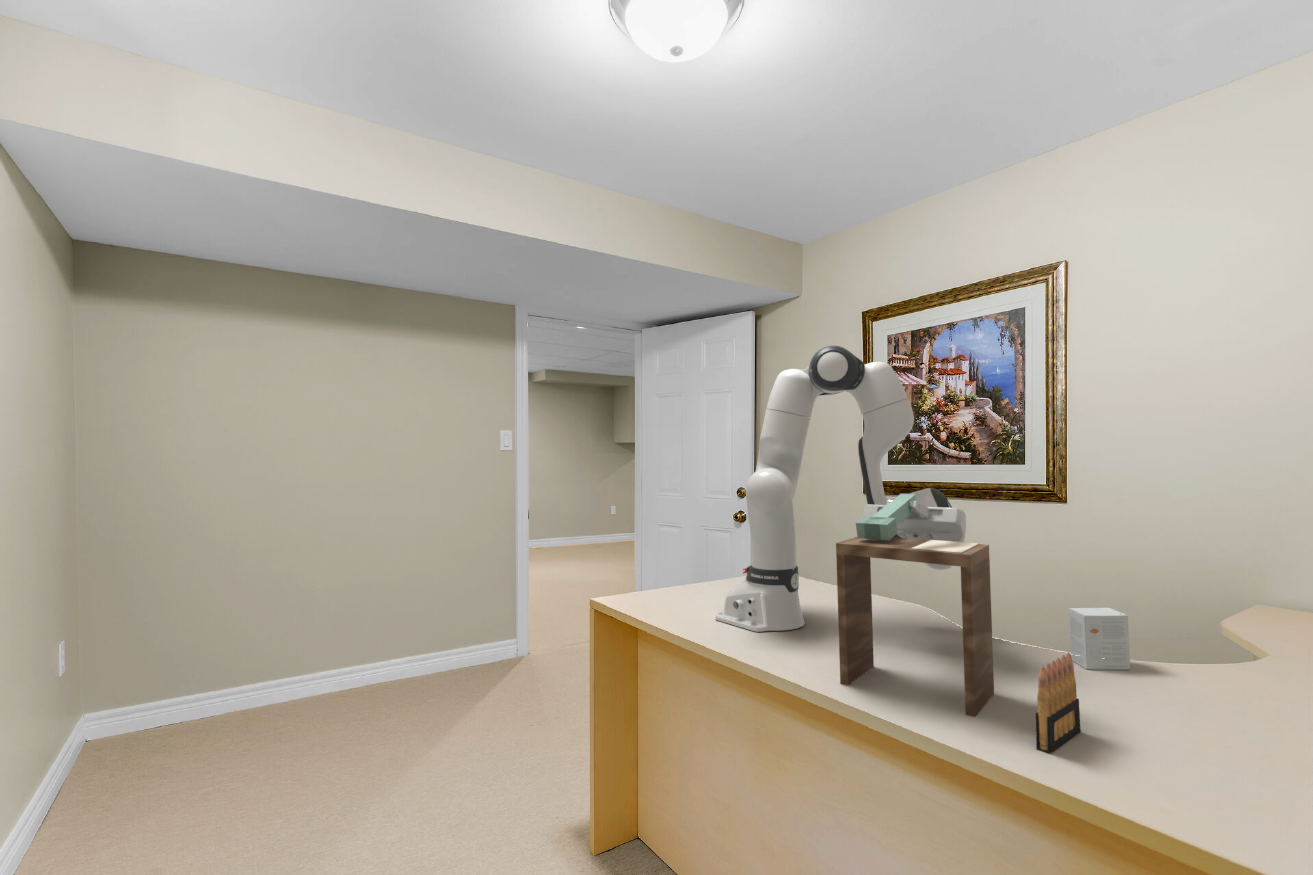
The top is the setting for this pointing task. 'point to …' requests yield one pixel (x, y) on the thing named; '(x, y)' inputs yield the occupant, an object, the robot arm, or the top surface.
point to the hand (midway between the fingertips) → (901, 503)
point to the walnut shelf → (967, 555)
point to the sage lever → (885, 519)
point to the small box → (1099, 638)
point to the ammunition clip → (1057, 705)
